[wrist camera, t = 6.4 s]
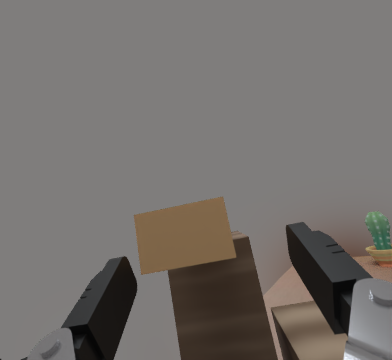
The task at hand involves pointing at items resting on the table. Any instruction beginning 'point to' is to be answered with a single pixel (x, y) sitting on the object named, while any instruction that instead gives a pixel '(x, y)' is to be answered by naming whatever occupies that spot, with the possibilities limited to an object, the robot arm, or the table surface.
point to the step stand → (243, 315)
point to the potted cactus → (380, 238)
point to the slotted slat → (184, 236)
